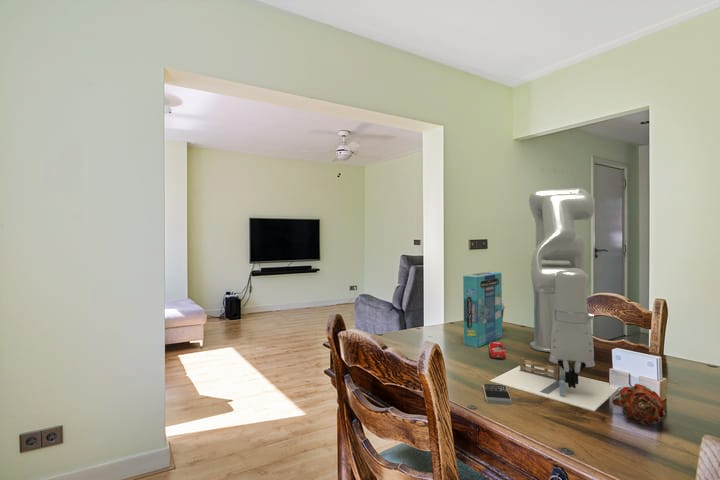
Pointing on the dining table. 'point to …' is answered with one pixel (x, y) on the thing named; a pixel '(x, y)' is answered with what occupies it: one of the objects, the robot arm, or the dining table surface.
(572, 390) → the card
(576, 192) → the robot arm
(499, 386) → the cell phone
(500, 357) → the race car
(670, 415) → the dining table surface
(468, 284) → the game box
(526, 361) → the fence section
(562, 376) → the panel
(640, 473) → the dining table surface
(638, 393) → the dragon fruit
